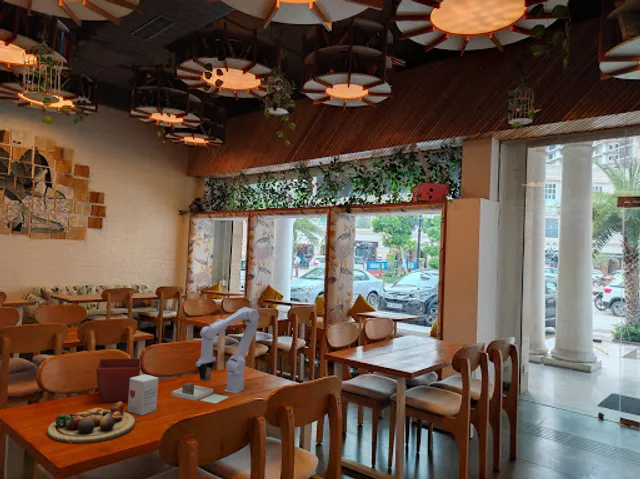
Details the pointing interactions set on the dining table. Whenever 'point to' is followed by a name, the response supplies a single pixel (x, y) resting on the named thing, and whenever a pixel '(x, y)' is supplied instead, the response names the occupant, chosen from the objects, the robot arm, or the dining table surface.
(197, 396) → the parts tray
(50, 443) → the dining table surface
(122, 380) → the plant pot
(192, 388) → the plain block
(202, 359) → the robot arm
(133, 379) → the supplement box
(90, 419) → the wooden plate with food
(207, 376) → the labelled block
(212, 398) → the sage mat
